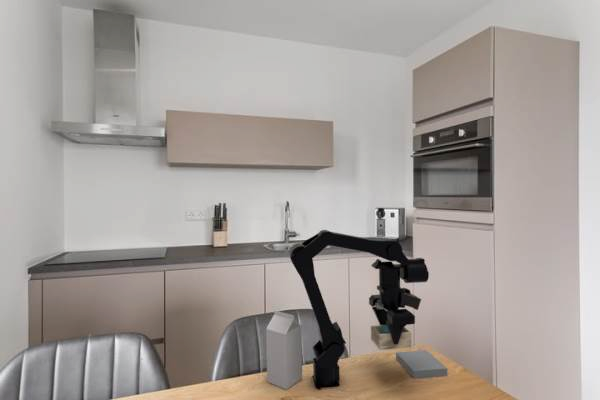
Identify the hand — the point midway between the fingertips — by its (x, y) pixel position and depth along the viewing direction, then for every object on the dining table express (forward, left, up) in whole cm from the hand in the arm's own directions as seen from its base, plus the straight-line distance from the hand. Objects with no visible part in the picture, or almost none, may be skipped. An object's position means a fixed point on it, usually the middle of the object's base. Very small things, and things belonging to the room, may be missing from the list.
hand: (390, 338), depth 97 cm
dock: (+11, +4, -11) cm, 16 cm away
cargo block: (0, 0, 0) cm, 0 cm away
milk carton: (-30, +4, -11) cm, 32 cm away
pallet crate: (0, 0, -1) cm, 1 cm away
